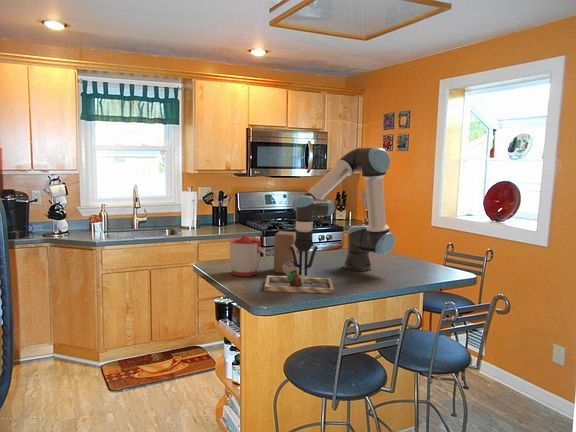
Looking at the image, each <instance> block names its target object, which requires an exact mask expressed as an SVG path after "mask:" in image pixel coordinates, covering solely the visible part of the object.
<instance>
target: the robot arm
mask: <svg viewBox="0 0 576 432" xmlns="http://www.w3.org/2000/svg"><path fill="white" fill-rule="evenodd" d="M390 166H391V158H390V155H389V153H388V152H387V151H386V150H385V149H384V148H382V147H357V148H354V149H352V150H351V151H348V152H347V153H345V154H344V155H343V156H342V157H341V158H339V160H338V161H336V164H335V165H334V167H333V168H332V169H330V171H329V172H327V173H326V174H325V175H324V176H323V177H322V178H321V179H320V180H319V181H317V182H316V183H315V184H314V185H313V186H312V187H311V188H310V189H308V191H307V192H305V193H304V194H303V195H299V196H298V195H297V196H296V197H294V199H293V200H292V203H291V206H292V209H293V211H295V232H296V239H295V242H294V244H293V245H290V249H291V251H292V254H293V258H294V263H295V267H297V269H298V272H299V275H300V278H301V283H302V284H305V282H304V278H305V276H307V275H308V269H309V268H312V265H313V262H314V259H315V255H316V252H317V250H318V249H319V247H318V245H315V244H314V241H313V233H314V232H313V228H314V225H313V224H314V218H315V217H328V216H332V215H333V214H334V213H335V210H336V209H335V203H334V202H333V200H331V199H326V198H325V197H326V196H327V195H329V193H330V192H331V191H333V189H334V188H336V187H337V186H338V185H339V184H340V183H341V182H342V181H344V179H346V177H349V176H351V175H352V174H353V173H355V172H361V176H362V177H363V178H364V179H365V192H366V202H367V204H366V205H367V206H366V207H367V219H368V225H352V226H350V227H349V228H348V232H347V252H346V253H347V254H346V256H345V259H344V261H343V268H344V269H346V270H349V271H356V272H368V271H371V270H372V269H373V267H372V266H373V264H372V261H371V257H370V256H371V255H370V253H373V254H376V255H388V254H389V253H390V252H391V251H392V250H393V248H394V246H395V244H396V237H395V235H394V234H393V233H392V232H390V226H389V225H387V223H386V222H387V221H386V220H387V218H386V208H385V207H386V206H385V205H386V204H385V191H384V188H385V187H384V177H385V176H386V175H387V173H386V172H387V171H388V170H389V169H390ZM324 198H325V199H324ZM295 246H296V247H297V250H298V251H299V252H298V253H299V255H298V257H299V258H298V259H299V261H298V260H297V255H296V254H295V250H294V249H295ZM311 248H312V251H311V255H310V258H309V262H308V256H309V255H308V253H309V251H310V250H311ZM303 252H304V266H303ZM367 270H368V271H367Z"/></svg>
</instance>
